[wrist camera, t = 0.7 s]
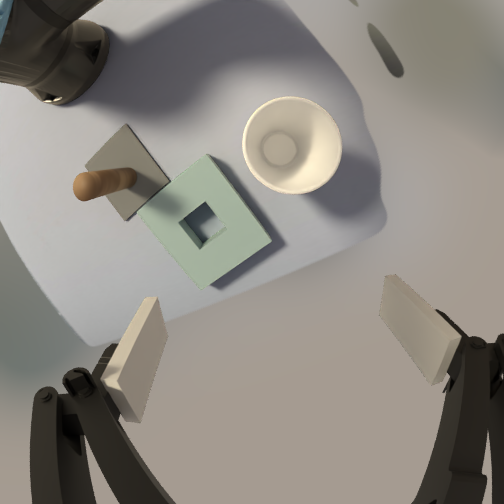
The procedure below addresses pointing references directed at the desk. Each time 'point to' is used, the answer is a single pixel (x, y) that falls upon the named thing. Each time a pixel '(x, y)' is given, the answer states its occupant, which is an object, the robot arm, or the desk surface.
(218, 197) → the socket block
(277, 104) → the cup
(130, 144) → the mat
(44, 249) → the desk surface
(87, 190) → the peg
